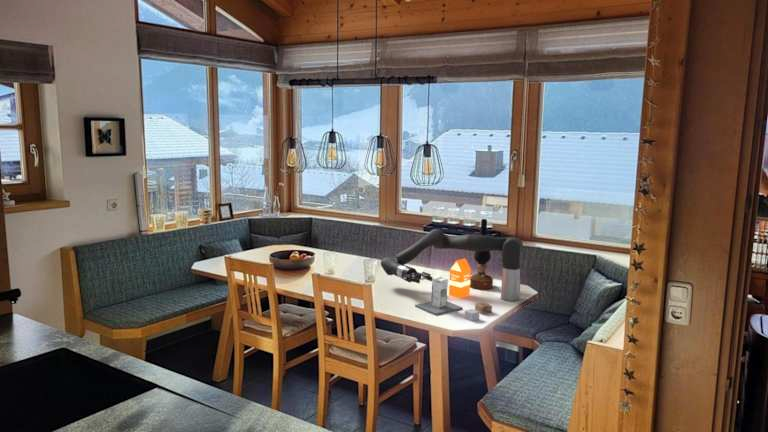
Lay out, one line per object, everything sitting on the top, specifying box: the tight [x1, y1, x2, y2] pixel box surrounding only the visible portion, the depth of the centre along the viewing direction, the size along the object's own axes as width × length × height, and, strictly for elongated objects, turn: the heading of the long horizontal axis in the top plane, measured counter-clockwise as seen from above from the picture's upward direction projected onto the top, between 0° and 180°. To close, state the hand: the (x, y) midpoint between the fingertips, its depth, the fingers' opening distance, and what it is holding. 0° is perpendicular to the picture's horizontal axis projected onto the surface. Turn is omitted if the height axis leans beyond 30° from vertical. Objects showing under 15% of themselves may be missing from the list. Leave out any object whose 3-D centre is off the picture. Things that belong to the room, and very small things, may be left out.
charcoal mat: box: [414, 300, 463, 316], centre depth 302 cm, size 18×16×1 cm
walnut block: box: [474, 301, 493, 315], centre depth 297 cm, size 6×6×4 cm
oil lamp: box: [470, 218, 494, 291], centre depth 341 cm, size 14×15×40 cm
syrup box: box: [430, 276, 449, 308], centre depth 301 cm, size 6×6×14 cm
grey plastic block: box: [463, 308, 480, 322], centre depth 286 cm, size 5×5×4 cm
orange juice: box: [448, 258, 472, 299], centre depth 323 cm, size 8×9×20 cm
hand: (425, 280), depth 309 cm, fingers open, 8 cm apart
